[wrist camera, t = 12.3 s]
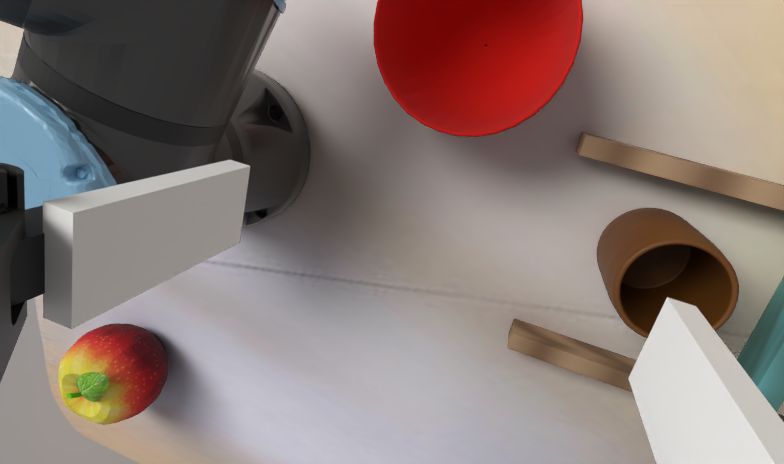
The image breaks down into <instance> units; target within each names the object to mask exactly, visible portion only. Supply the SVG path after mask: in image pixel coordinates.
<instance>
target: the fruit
mask: <svg viewBox="0 0 784 464" xmlns="http://www.w3.org/2000/svg"><path fill="white" fill-rule="evenodd" d="M167 372H168V361H167V357H166V352H165V350H164V349H163V347H162V345H161V343H160V342H159V341H158V340H157V338H156V337H155V336H154V335H153V334H151V333H150V332H148V331H147V330H145V329H143V328H140V327H138V326H135V325H131V324H109V325H105V326H102V327H99V328H97V329H94V330H92V331H90V332H88V333H86V334H85V335H83V336H82V337H81V338H80V339H79V340H78V341H77V342H76V343H75V344H74V345H73V346H72V347H71V348H70V349H69V350H68V352H67V353H66V354H65V355H64V356H63V358H62V360H61V362H60V365H59V373H58V380H59V388H60V393H61V397H62V399H63V402H64V404H65V405H66V406H67V407H68V408H69V409H70V410H71V411H73V412H74V413H76V414H78V415H79V416H81V417H83V418H85V419H87V420H89V421H92V422H94V423H98V424H103V425H105V424H112V423H116V422H120V421H122V420H125V419H128V418H131V417H133V416H135V415H137V414H139V413H140V412H142V411H143V410H145V409H146V408H147V407H148V406H149V405H150V404H152V403H153V402H154V401H155V400H156V399H157V397H158V396H159V394H160V392H161V390H162V388H163V386H164V384H165V381H166V379H167Z"/></svg>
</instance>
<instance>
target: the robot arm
mask: <svg viewBox="0 0 784 464" xmlns="http://www.w3.org/2000/svg"><path fill="white" fill-rule="evenodd" d="M285 8H286V3H285V0H0V21H3V22H6V23H9V24H11V25H14V26H17V27H20V28H22V29H24V32H23V38H22V41H21V45H20V49H19V53H18V57H17V60H16V64H15V68H14V72H13V75H12V77H11V78H6V77H3V76H0V382H1V379H2V377H3V374H4V372H5V370H6V367H7V365H8V362H9V360H10V357H11V355H12V352H13V350H14V347H15V345H16V342H17V340H18V337H19V335H20V332H21V330H22V327H23V325H24V322H25V320H26V317H27V300H29V299H31V298H34V297H36V296H39V295H41V294H43V317H44V318H46V319H48V320H51V321H53V322H55V323H58V324H60V325H63V326H65V327H67V328H70V329H73V328H75V327H77V326H78V325H80V324H82V323H84V322H86V321H88V320H90V319H92V318H94V317H96V316H98V315H100V314H102V313H104V312H106V311H108V310H110V309H111V308H113V307H115V306H117V305H119V304H121V303H123V302H125V301H127V300H129V299H131V298H133V297H135V296H137V295H139V294H141V293H143V292H145V291H146V290H148V289H150V288H152V287H154V286H156V285H158V284H160V283H162V282H164V281H166V280H168V279H170V278H172V277H174V276H176V275H178V274H179V273H181V272H183V271H185V270H187V269H189V268H191V267H193V266H195V265H197V264H199V263H201V262H203V261H205V260H207V259H209V258H211V257H213V256H214V255H216V254H218V253H220V252H222V251H224V250H226V249H228V248H230V247H232V246H234V245H236V244H238V243H240V237H241V230H242V226H248V225H254V224H257V223H260V222H263V221H265V220H267V219H269V218H271V217H273V216H275V215H277V214H279V213H281V212H282V211H284V210H285V209H286V208H287V207H288V206H289V205H290V204H291V203H292V202H293V201H294V200H295V199H296V197H297V196H298V194H299V193H300V191H301V189H302V187H303V185H304V183H305V180H306V177H307V173H308V169H309V161H310V145H309V138H308V133H307V129H306V125H305V122H304V120H303V117H302V115H301V113H300V111H299V109H298V107H297V105H296V104H295V102H294V101H293V99H292V98H291V97H290V95H289V94H288V93H287V92H286V91H285V89H284V88H283V87H282V86H280V85H279V84H278V83H277V82H276V81H275V80H273V79H272V78H270V77H269V76H267V75H266V74H264V73H262V72H260V71H257V70H255V69H254V68H255V66H256V64H257V61H258V59H259V57H260V55H261V53H262V51H263V49H264V47H265V45H266V43H267V40H268V38H269V36H270V34H271V32H272V30H273V28H274V26H275V24H276V21H277V19H278V17H279V15H280V13H284V11H285ZM628 379H629V382H630V385H631V388H632V391H633V394H634V397H635V400H636V403H637V406H638V409H639V412H640V415H641V418H642V421H643V424H644V427H645V430H646V433H647V436H648V439H649V442H650V445H651V448H652V451H653V455H654V458H655V461H656V464H784V416H783V415H780V414H777V413H776V411H775V410H774V409H773V407H772V406H771V405H770V403H769V402H768V401H767V400H766V398H765V397H764V396H763V394H762V393H761V392H760V390H759V389H758V388H757V386H756V385H755V384H754V382H753V381H752V380H751V378H750V377H749V376H748V374H747V373H746V372H745V370H744V369H743V368H742V366H741V365H740V364H739V362H738V361H737V360H736V358H735V357H734V356H733V354H732V353H731V352H730V350H729V349H728V348H727V347H726V345H725V344H724V343H723V341H722V340H721V339H720V337H719V336H718V335H717V333H716V332H715V331H714V329H713V328H712V327H711V325H710V324H709V323H708V321H707V320H706V319H705V317H704V316H703V315H702V313H701V312H700V311H699V309H698V308H697V307H696V306H694V305H690V304H687V303H684V302H681V301H678V300H675V299H671V298H668V297H667V299H666V301H665V303H664V305H663V307H662V309H661V311H660V313H659V315H658V317H657V319H656V322H655V324H654V326H653V328H652V330H651V332H650V334H649V336H648V338H647V340H646V342H645V344H644V347H643V349H642V351H641V353H640V355H639V357H638V359H637V361H636V363H635V365H634V367H633V370H632V372H631V374H630V376H629V378H628Z"/></svg>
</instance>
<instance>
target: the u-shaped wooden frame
mask: <svg viewBox="0 0 784 464" xmlns="http://www.w3.org/2000/svg"><path fill="white" fill-rule="evenodd" d="M576 152H577V153H578V154H579V155H581V156H584V157H588V158H592V159H596V160H599V161H603V162H607V163H610V164H614V165H618V166H621V167H625V168H629V169H632V170H636V171H640V172H643V173H647V174H651V175H654V176H658V177H662V178H665V179H669V180H673V181H676V182H680V183H684V184H688V185H691V186H695V187H699V188H702V189H706V190H710V191H713V192H717V193H721V194H724V195H728V196H732V197H735V198H739V199H743V200H746V201H750V202H754V203H757V204H761V205H765V206H769V207H772V208H776V209H780V210H783V211H784V185H780V184H777V183H773V182H769V181H765V180H761V179H758V178H754V177H750V176H746V175H742V174H739V173H735V172H731V171H727V170H723V169H720V168H716V167H712V166H708V165H704V164H701V163H697V162H693V161H689V160H685V159H682V158H678V157H674V156H670V155H666V154H663V153H659V152H655V151H651V150H647V149H643V148H640V147H636V146H632V145H628V144H624V143H621V142H617V141H613V140H609V139H605V138H602V137H598V136H594V135H590V134H586V133H583V132H582V135H581V137H580V140H579V143H578V146H577V148H576ZM508 348H509V349H512V350H514V351H517V352H520V353H523V354H526V355H529V356H531V357H534V358H537V359H540V360H543V361H545V362H548V363H551V364H554V365H557V366H560V367H562V368H565V369H568V370H571V371H574V372H577V373H579V374H582V375H585V376H588V377H591V378H594V379H596V380H599V381H602V382H605V383H608V384H610V385H613V386H616V387H619V388H622V389H625V390H627V391H630V392H633V391H632V388H631V385H630V382H629V379H628V378H629V376H630V374H631V372H632V370H633V367H634V365H635V363H636V361H637V360H634V359H631V358H628V357H625V356H622V355H619V354H616V353H613V352H610V351H607V350H604V349H602V348H599V347H596V346H593V345H590V344H587V343H584V342H581V341H578V340H575V339H572V338H569V337H566V336H564V335H561V334H558V333H555V332H552V331H549V330H546V329H543V328H540V327H537V326H534V325H531V324H528V323H525V322H523V321H520V320H517V319H514V320H513V323H512V326H511V329H510V331H509V338H508ZM737 361H738V362H739V364H740V365H741V366H742V368H743V369H744V370H745V372H746V373H747V374H748V376H749V377H750V378H751V380H752V381H753V382H754V384H755V385H756V386H757V388H758V389H759V390H760V392H761V393H762V394H763V396H764V397H765V398H766V400H767V401H768V402H769V403H770V405H771V406H772V407H773V409H774V410H775V411H776V412H777V410H778V409H779V407H780V405H781V404H782V402H783V400H784V277H783V279H782V281H781V283H780V284H779V286H778V288H777V290H776V292H775V293H774V295H773V297H772V299H771V300H770V302H769V304H768V306H767V308H766V309H765V311H764V313H763V315H762V316H761V318H760V320H759V322H758V324H757V325H756V327H755V329H754V331H753V332H752V334H751V336H750V338H749V340H748V341H747V343H746V345H745V347H744V349H743V350H742V352H741V354H740V356H739V357H738V359H737Z"/></svg>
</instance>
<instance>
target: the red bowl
mask: <svg viewBox="0 0 784 464" xmlns="http://www.w3.org/2000/svg"><path fill="white" fill-rule="evenodd" d="M582 24H583V10H582V0H378V2H377V7H376V13H375V19H374V48H375V53H376V59H377V64H378V67H379V69H380V72H381V75H382V77H383V80H384V82H385V84H386V86H387V87H388V89H389V91H390V92H391V94H392V96H393V97H394V99H395V100H396V101H397V102H398V103H399V104H400V106H401V107H402V108H403V109H404V110H405V111H406V112H407V113H408V114H409V115H411V116H412V117H413V118H415V119H416V120H418V121H419V122H420V123H422V124H424V125H426V126H428V127H430V128H432V129H434V130H436V131H439V132H442V133H447V134H451V135H455V136H467V137H479V136H485V135H491V134H497V133H499V132H502V131H505V130H507V129H510V128H513V127H515V126H517V125H519V124H520V123H522V122H524V121H525V120H527V119H529V118H530V117H532V116H534V115H535V114H536V113H537V112H538V111H539V110H540V109H542V108H543V107H544V106H545V105H546V104H547V103H548V102H549V101H550V100H551V99H552V98H553V96H554V95H555V94H556V92H557V91H558V90H559V89H560V87H561V86H562V85H563V83H564V81H565V79H566V77H567V75H568V74H569V72H570V70H571V68H572V66H573V64H574V61H575V58H576V54H577V51H578V48H579V45H580V41H581V33H582ZM485 45H487V46H485Z"/></svg>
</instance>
